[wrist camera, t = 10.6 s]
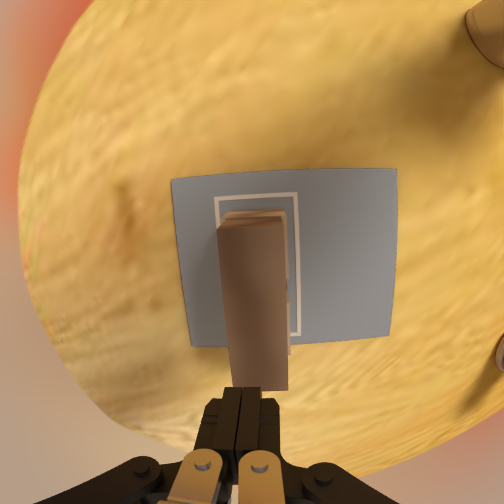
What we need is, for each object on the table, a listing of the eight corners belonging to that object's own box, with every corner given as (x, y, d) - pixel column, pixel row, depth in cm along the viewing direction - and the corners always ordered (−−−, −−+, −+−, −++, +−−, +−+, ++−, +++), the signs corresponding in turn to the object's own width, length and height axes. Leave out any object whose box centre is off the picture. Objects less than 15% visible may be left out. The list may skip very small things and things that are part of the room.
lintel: (280, 215, 23) (283, 225, 18) (285, 355, 26) (288, 390, 21) (227, 218, 23) (216, 229, 19) (239, 356, 26) (233, 391, 21)
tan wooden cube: (283, 207, 29) (286, 215, 23) (285, 259, 30) (288, 279, 24) (229, 210, 29) (219, 219, 24) (233, 261, 31) (225, 282, 25)
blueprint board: (393, 168, 28) (397, 168, 27) (386, 332, 32) (389, 336, 31) (173, 178, 30) (170, 179, 29) (193, 342, 34) (191, 346, 33)
